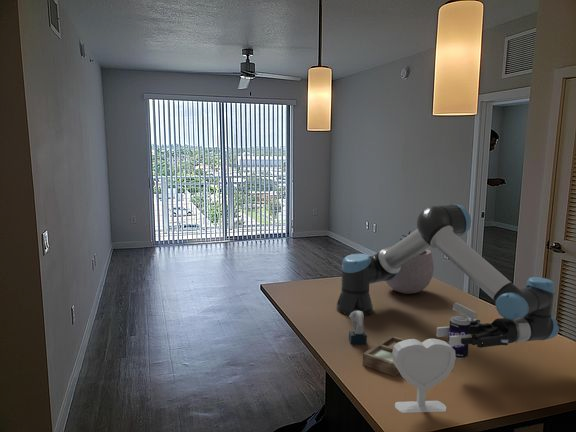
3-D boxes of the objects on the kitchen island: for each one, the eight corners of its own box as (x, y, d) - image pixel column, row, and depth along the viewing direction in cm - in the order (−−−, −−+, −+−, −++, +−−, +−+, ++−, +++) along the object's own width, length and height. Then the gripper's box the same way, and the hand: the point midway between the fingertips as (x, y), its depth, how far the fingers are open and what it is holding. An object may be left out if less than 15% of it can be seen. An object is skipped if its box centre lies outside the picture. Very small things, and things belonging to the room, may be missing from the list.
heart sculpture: (394, 413, 113) (398, 346, 110) (388, 402, 117) (391, 338, 115) (453, 411, 114) (458, 345, 111) (445, 400, 119) (449, 337, 116)
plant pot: (379, 283, 227) (382, 226, 223) (427, 286, 224) (430, 227, 220) (382, 298, 204) (385, 234, 200) (436, 301, 200) (440, 236, 196)
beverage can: (443, 351, 134) (446, 314, 132) (461, 351, 135) (465, 314, 133) (452, 360, 128) (455, 321, 127) (470, 360, 129) (474, 321, 127)
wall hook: (451, 298, 174) (478, 300, 172) (449, 321, 176) (476, 324, 174) (455, 306, 166) (483, 308, 164) (453, 330, 167) (481, 332, 165)
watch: (362, 336, 160) (364, 307, 158) (367, 346, 152) (368, 315, 150) (347, 336, 159) (348, 307, 158) (351, 346, 152) (352, 315, 150)
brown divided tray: (362, 364, 138) (362, 353, 138) (390, 345, 153) (391, 335, 152) (394, 376, 131) (395, 364, 131) (421, 355, 146) (421, 344, 145)
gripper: (532, 355, 127) (462, 363, 121) (487, 329, 145) (425, 335, 139) (535, 330, 126) (464, 337, 120) (490, 307, 143) (426, 312, 138)
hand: (443, 336), depth 129 cm, fingers closed on beverage can, 6 cm apart
